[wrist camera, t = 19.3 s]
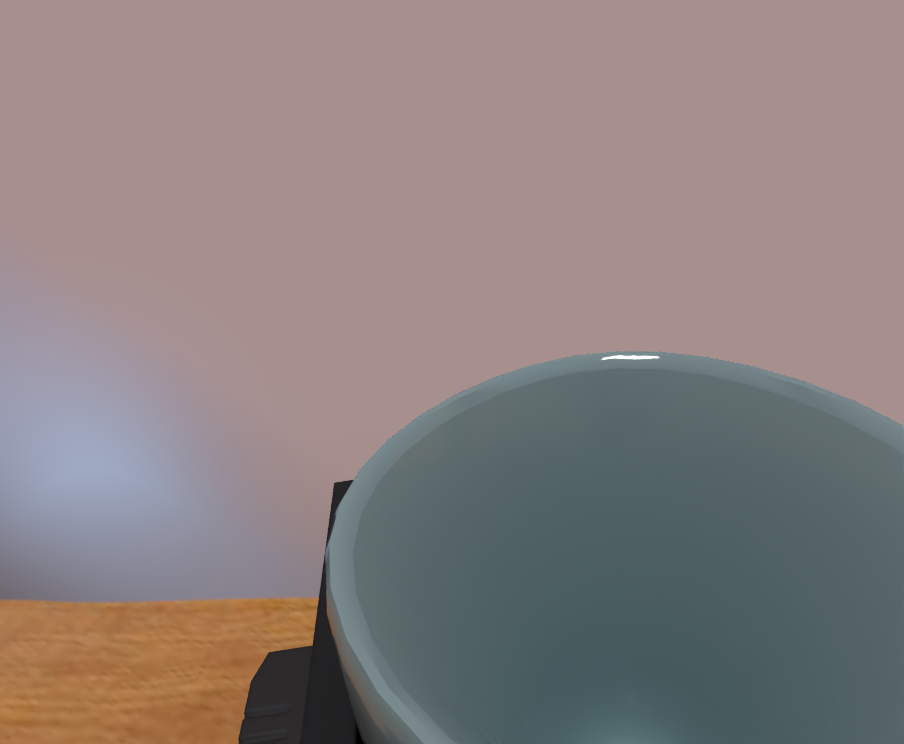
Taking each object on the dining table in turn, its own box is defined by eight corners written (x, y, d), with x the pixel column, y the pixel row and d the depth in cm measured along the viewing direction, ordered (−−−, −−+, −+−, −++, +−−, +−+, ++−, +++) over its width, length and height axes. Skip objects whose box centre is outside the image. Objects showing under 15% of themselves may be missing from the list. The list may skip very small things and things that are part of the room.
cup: (676, 1417, 8) (754, 1276, 3) (367, 861, 14) (223, 503, 9) (950, 924, 12) (1184, 501, 7) (614, 647, 17) (609, 309, 12)
